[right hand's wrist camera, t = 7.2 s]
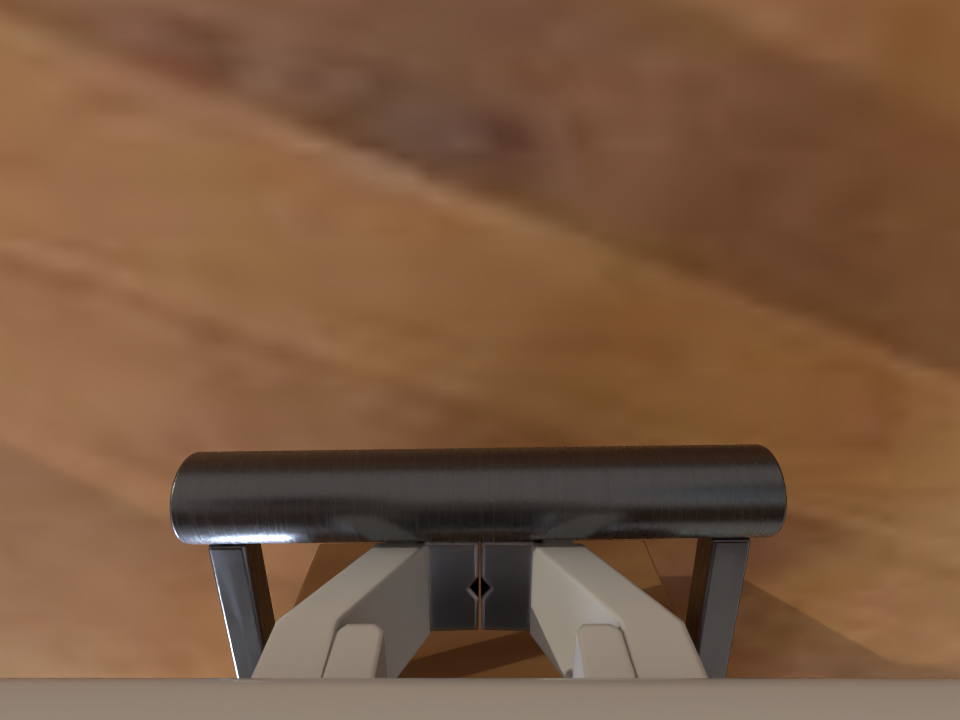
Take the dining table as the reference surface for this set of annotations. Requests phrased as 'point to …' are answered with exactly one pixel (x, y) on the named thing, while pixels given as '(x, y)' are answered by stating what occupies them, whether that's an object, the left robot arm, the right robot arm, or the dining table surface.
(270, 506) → the drawer
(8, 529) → the dining table surface
